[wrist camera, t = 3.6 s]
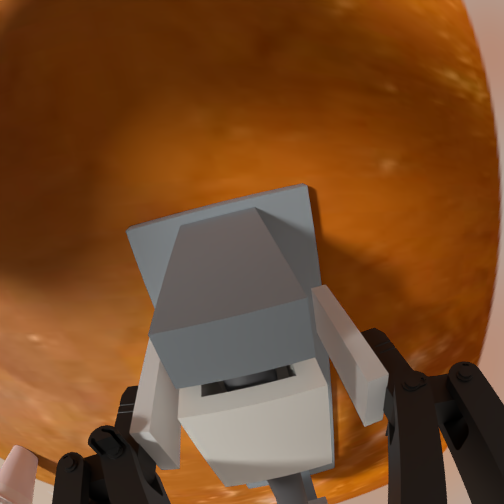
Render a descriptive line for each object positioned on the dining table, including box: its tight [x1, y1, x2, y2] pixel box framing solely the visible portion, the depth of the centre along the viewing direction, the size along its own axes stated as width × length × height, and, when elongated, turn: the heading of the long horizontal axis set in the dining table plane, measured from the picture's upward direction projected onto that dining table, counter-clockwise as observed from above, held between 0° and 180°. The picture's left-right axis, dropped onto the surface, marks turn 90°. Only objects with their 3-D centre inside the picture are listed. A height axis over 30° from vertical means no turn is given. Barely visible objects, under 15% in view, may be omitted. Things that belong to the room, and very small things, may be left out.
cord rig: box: [126, 183, 335, 504], centre depth 17 cm, size 31×10×12 cm, turn 12°
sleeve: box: [178, 358, 332, 487], centre depth 10 cm, size 5×4×4 cm
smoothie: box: [0, 445, 38, 504], centre depth 17 cm, size 6×6×14 cm
